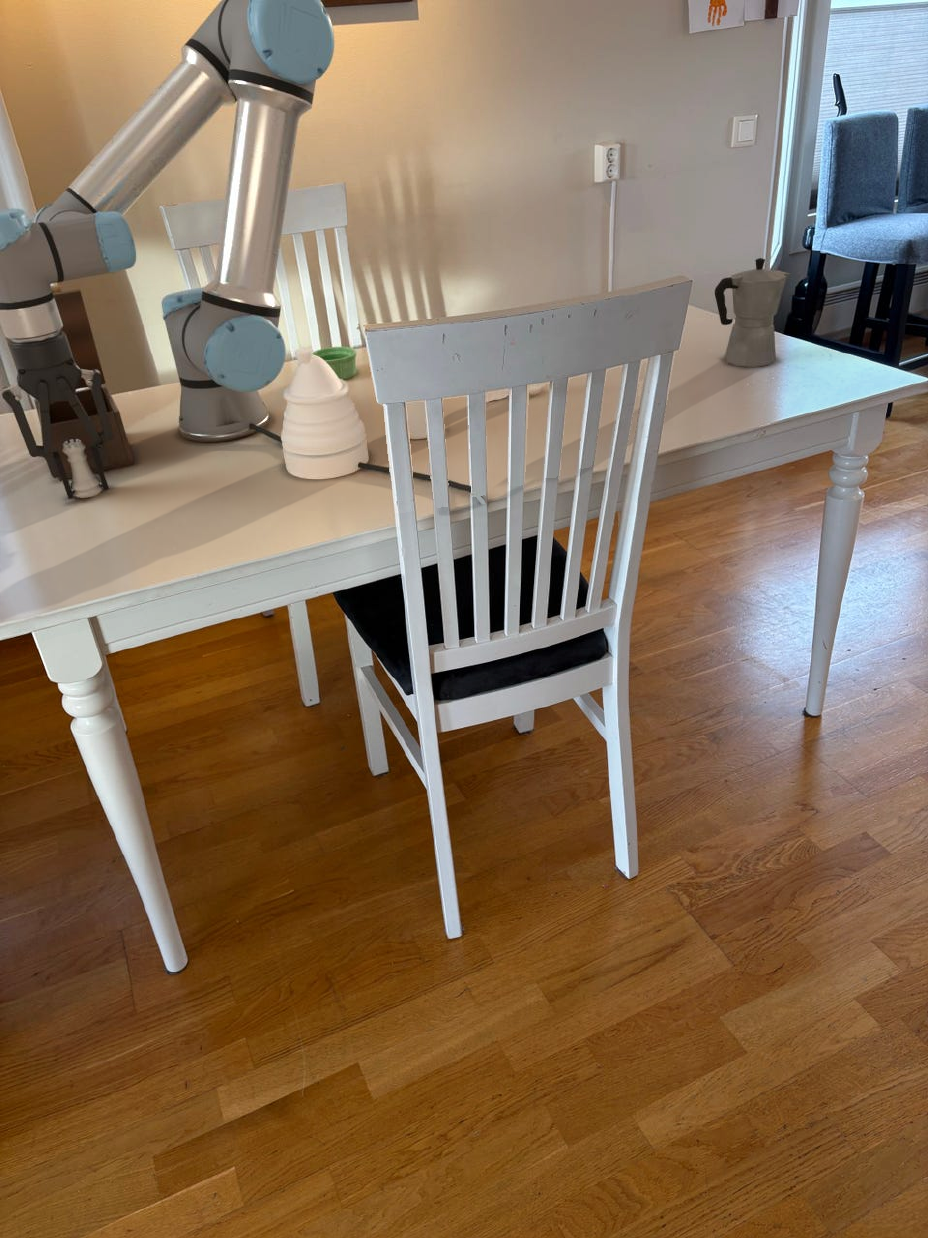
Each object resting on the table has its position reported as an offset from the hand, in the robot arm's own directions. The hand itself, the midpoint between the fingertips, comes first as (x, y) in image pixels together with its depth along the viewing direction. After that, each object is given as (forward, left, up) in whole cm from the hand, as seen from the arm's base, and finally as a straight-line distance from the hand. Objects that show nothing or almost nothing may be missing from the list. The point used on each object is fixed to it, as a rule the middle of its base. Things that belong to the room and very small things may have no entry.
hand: (87, 490), depth 135 cm
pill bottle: (-39, -35, -1) cm, 52 cm away
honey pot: (-30, -20, -1) cm, 36 cm away
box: (+11, -13, -1) cm, 17 cm away
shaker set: (-49, -55, -1) cm, 74 cm away
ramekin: (-10, -59, -1) cm, 60 cm away
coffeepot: (-85, -81, -1) cm, 117 cm away
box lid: (+15, -16, +16) cm, 27 cm away
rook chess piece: (0, 0, 0) cm, 0 cm away
